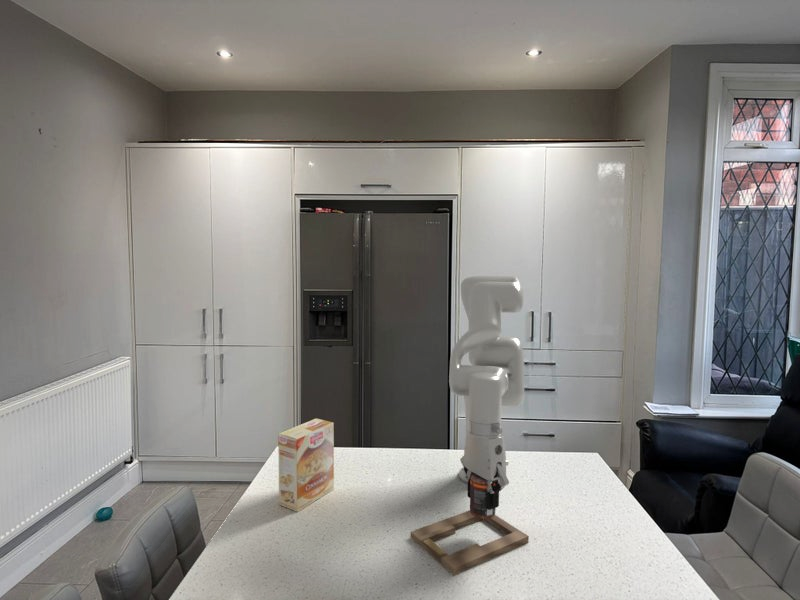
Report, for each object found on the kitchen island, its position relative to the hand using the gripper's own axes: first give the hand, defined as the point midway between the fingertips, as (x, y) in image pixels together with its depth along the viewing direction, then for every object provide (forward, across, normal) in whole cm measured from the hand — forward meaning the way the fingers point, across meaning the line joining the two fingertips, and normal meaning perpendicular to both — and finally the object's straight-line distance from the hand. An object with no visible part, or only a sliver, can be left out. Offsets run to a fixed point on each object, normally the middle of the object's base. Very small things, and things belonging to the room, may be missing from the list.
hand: (482, 501), depth 116 cm
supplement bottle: (+3, 0, 0) cm, 3 cm away
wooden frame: (+9, 0, +4) cm, 9 cm away
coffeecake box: (+9, +39, +28) cm, 49 cm away
